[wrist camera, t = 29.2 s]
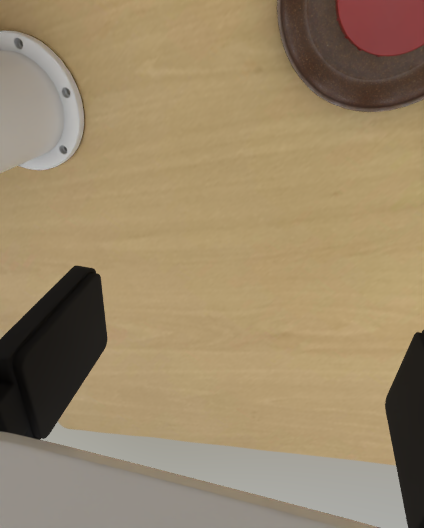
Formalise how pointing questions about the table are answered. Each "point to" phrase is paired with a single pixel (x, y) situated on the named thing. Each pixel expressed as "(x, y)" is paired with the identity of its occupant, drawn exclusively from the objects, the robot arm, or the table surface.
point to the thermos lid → (382, 25)
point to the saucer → (345, 61)
